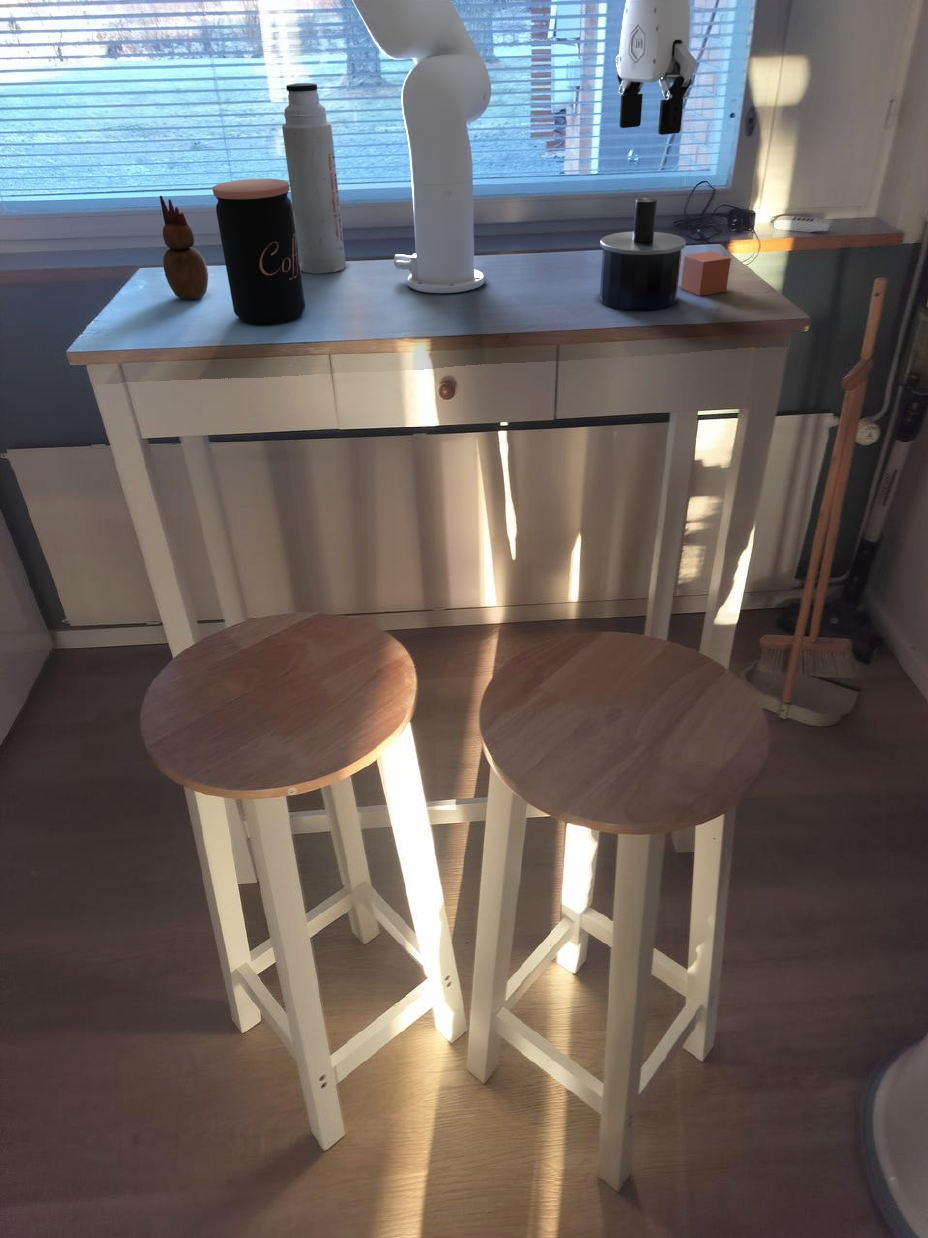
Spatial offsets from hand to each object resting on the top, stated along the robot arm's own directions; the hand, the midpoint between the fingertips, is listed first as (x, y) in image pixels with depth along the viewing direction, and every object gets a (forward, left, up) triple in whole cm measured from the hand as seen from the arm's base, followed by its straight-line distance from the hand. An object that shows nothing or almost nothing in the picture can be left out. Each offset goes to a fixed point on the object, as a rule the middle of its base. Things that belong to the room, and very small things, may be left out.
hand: (648, 130), depth 120 cm
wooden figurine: (-69, -15, -23) cm, 75 cm away
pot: (+1, 0, -23) cm, 23 cm away
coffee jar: (-51, -21, -23) cm, 60 cm away
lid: (+1, 0, -15) cm, 15 cm away
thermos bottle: (-56, +7, -23) cm, 61 cm away
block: (+10, +8, -23) cm, 26 cm away
